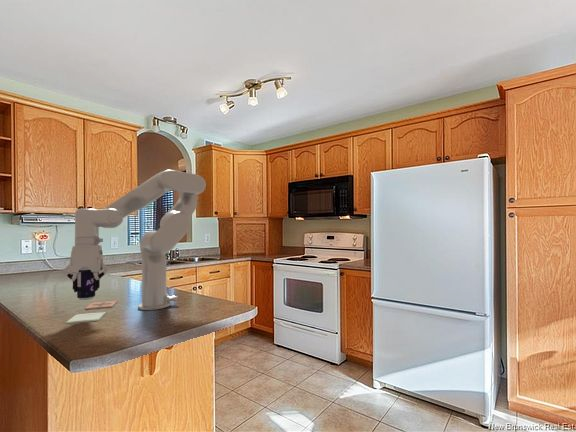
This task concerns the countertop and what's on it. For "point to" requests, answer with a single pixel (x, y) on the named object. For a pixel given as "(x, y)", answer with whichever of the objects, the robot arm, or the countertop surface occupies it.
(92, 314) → the pad
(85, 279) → the beverage can
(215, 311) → the countertop surface
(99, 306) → the pad
